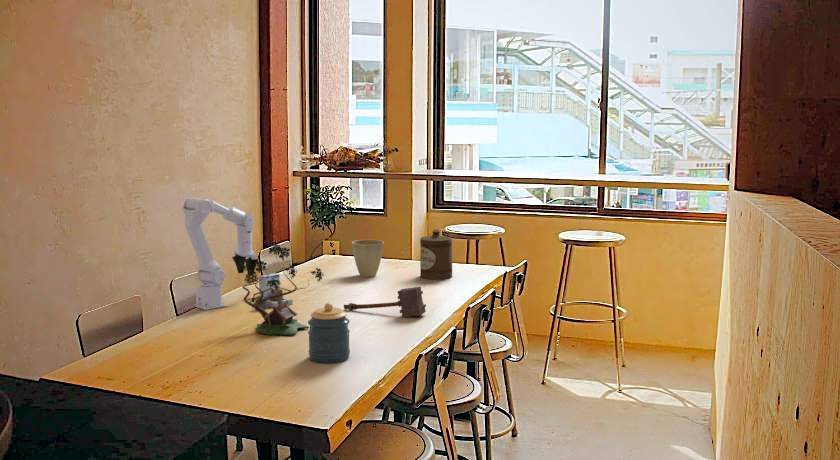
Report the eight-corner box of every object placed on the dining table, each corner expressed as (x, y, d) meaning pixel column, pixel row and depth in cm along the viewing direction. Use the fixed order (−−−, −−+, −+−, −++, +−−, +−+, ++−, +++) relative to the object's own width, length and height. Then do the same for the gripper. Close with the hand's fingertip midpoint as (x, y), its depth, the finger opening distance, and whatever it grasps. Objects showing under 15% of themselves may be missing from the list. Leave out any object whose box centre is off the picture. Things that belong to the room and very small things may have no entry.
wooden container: (415, 275, 400) (415, 228, 397) (443, 272, 406) (443, 226, 403) (428, 280, 387) (428, 233, 384) (457, 278, 393) (458, 230, 390)
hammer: (421, 315, 318) (416, 289, 317) (343, 324, 330) (338, 299, 329) (427, 311, 324) (422, 285, 323) (350, 320, 336) (346, 295, 335)
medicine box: (266, 297, 354) (265, 277, 353) (259, 296, 357) (258, 275, 355) (280, 294, 360) (279, 274, 359) (273, 292, 363) (272, 272, 362)
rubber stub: (261, 310, 332) (261, 300, 331) (256, 308, 334) (256, 298, 334) (269, 308, 334) (268, 299, 334) (264, 307, 337) (264, 297, 336)
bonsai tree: (221, 337, 293) (218, 246, 289) (259, 320, 316) (256, 236, 311) (312, 347, 281) (310, 252, 276) (344, 329, 304) (343, 241, 299)
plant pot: (347, 277, 394) (346, 243, 391) (358, 271, 408) (358, 238, 405) (377, 279, 389) (377, 245, 387) (388, 273, 403) (388, 240, 401)
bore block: (273, 308, 335) (273, 303, 335) (260, 304, 342) (260, 299, 341) (292, 304, 341) (292, 299, 341) (279, 300, 348) (279, 296, 347)
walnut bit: (275, 305, 339) (275, 291, 338) (270, 304, 342) (270, 289, 341) (282, 304, 341) (282, 289, 340) (278, 303, 344) (277, 288, 343)
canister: (329, 349, 279) (328, 296, 276) (358, 356, 271) (357, 302, 268) (300, 358, 269) (298, 303, 266) (329, 366, 261) (328, 310, 258)
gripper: (262, 242, 347) (263, 275, 349) (243, 238, 358) (244, 270, 360) (247, 244, 342) (248, 277, 344) (229, 240, 353) (230, 272, 355)
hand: (245, 274), depth 352 cm, fingers open, 7 cm apart
